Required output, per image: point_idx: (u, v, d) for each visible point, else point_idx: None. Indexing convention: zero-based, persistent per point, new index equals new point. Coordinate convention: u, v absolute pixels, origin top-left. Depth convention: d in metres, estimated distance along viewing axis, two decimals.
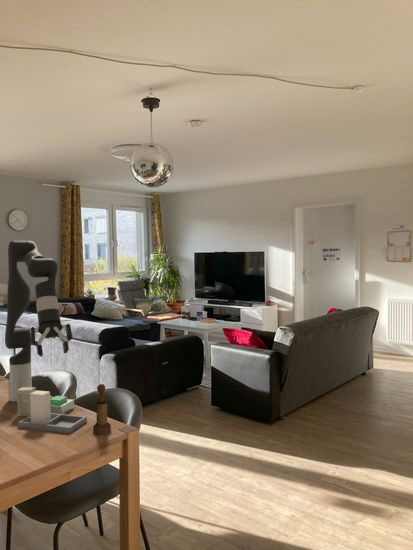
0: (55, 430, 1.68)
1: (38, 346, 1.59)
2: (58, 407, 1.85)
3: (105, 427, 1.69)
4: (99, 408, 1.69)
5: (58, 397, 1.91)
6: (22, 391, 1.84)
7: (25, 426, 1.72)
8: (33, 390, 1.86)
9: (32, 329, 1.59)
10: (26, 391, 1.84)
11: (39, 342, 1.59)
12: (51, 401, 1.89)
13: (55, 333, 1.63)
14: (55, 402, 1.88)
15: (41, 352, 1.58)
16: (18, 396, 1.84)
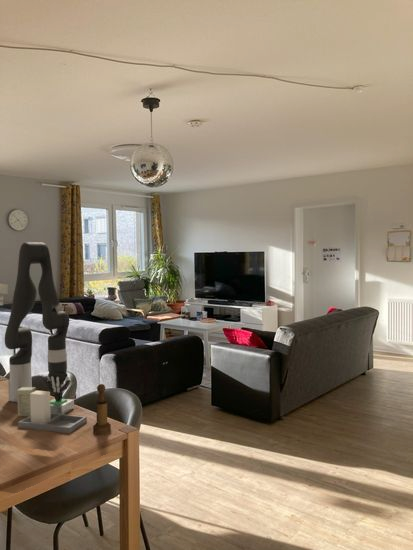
0: (55, 430, 1.68)
1: (55, 392, 1.90)
2: (58, 407, 1.85)
3: (105, 427, 1.69)
4: (99, 408, 1.69)
5: None
6: (22, 391, 1.84)
7: (25, 426, 1.72)
8: (33, 390, 1.86)
9: (44, 380, 1.90)
10: (26, 391, 1.84)
11: (55, 390, 1.89)
12: None
13: (56, 380, 1.89)
14: None
15: (56, 398, 1.89)
16: (18, 396, 1.84)
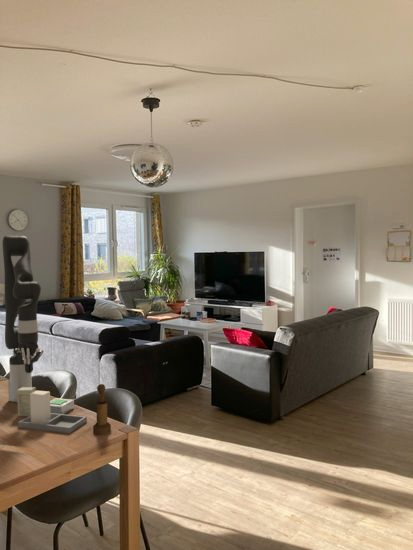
0: (55, 430, 1.68)
1: (25, 364, 1.86)
2: (58, 407, 1.85)
3: (105, 427, 1.69)
4: (99, 408, 1.69)
5: (58, 401, 1.91)
6: (22, 391, 1.84)
7: (25, 426, 1.72)
8: (33, 390, 1.86)
9: (14, 352, 1.86)
10: (26, 391, 1.84)
11: (25, 361, 1.85)
12: None
13: (27, 351, 1.85)
14: None
15: (26, 370, 1.85)
16: (18, 396, 1.84)
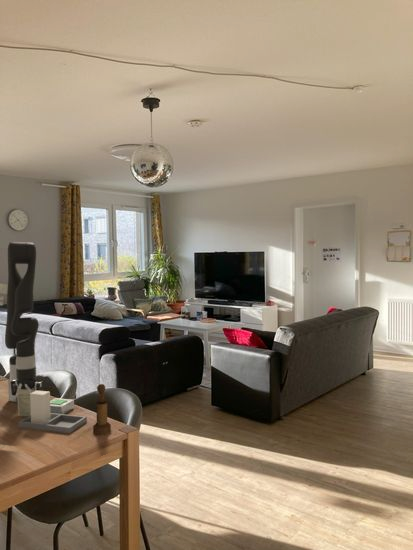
0: (55, 430, 1.68)
1: None
2: (58, 407, 1.85)
3: (105, 427, 1.69)
4: (99, 408, 1.69)
5: (58, 401, 1.91)
6: (22, 391, 1.84)
7: (25, 426, 1.72)
8: None
9: (11, 383, 1.87)
10: (26, 391, 1.84)
11: (16, 395, 1.86)
12: None
13: (27, 388, 1.85)
14: None
15: None
16: (18, 396, 1.84)
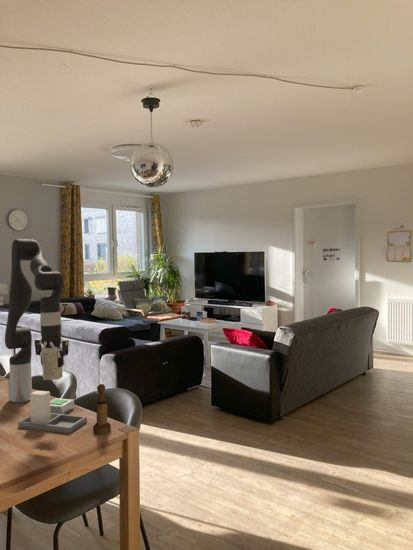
0: (55, 430, 1.68)
1: (41, 357, 1.76)
2: (58, 407, 1.85)
3: (105, 427, 1.69)
4: (99, 408, 1.69)
5: (58, 401, 1.91)
6: (47, 349, 1.73)
7: (25, 426, 1.72)
8: None
9: (35, 342, 1.76)
10: (51, 349, 1.73)
11: (41, 354, 1.76)
12: None
13: (52, 347, 1.74)
14: None
15: None
16: (43, 355, 1.74)
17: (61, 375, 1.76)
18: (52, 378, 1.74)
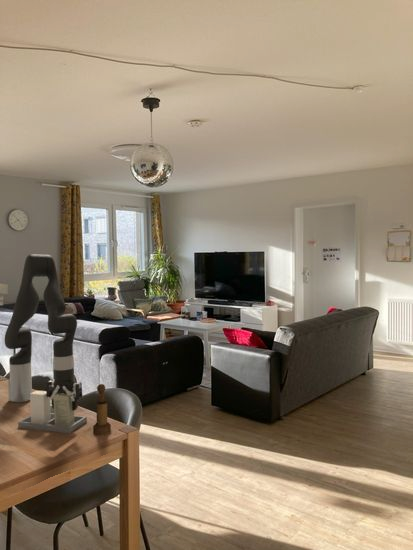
0: (55, 430, 1.68)
1: (52, 399, 1.74)
2: None
3: (105, 427, 1.69)
4: (99, 408, 1.69)
5: None
6: (59, 397, 1.71)
7: (25, 426, 1.72)
8: None
9: (47, 384, 1.74)
10: (63, 397, 1.71)
11: (52, 397, 1.73)
12: None
13: (65, 391, 1.72)
14: None
15: (53, 406, 1.74)
16: (55, 402, 1.72)
17: (73, 422, 1.74)
18: None
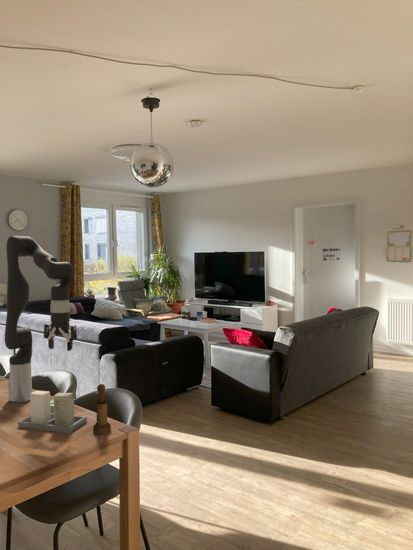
0: (55, 430, 1.68)
1: (49, 340, 1.88)
2: None
3: (105, 427, 1.69)
4: (99, 408, 1.69)
5: None
6: (59, 397, 1.71)
7: (25, 426, 1.72)
8: (70, 396, 1.73)
9: (45, 326, 1.88)
10: (63, 397, 1.71)
11: (48, 338, 1.88)
12: None
13: (61, 332, 1.86)
14: None
15: (49, 346, 1.88)
16: (55, 402, 1.72)
17: (73, 422, 1.74)
18: None
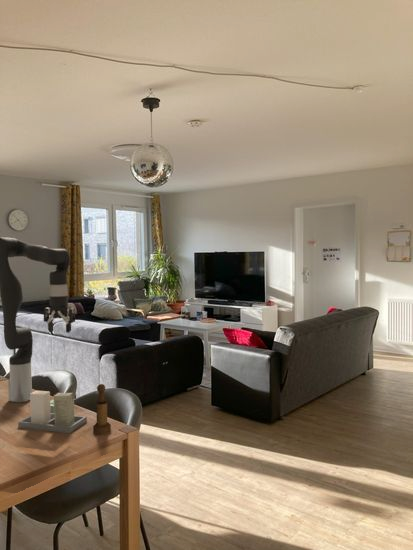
0: (55, 430, 1.68)
1: (48, 324, 1.98)
2: None
3: (105, 427, 1.69)
4: (99, 408, 1.69)
5: None
6: (59, 397, 1.71)
7: (25, 426, 1.72)
8: (70, 396, 1.73)
9: (44, 310, 1.98)
10: (63, 397, 1.71)
11: (48, 321, 1.98)
12: None
13: (60, 315, 1.96)
14: None
15: (49, 329, 1.98)
16: (55, 402, 1.72)
17: (73, 422, 1.74)
18: None
